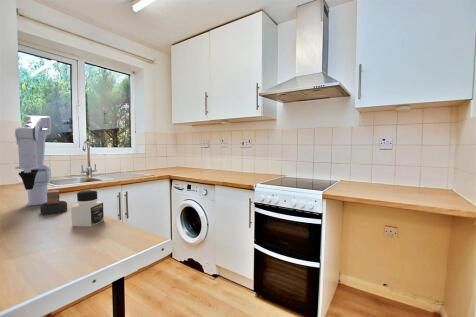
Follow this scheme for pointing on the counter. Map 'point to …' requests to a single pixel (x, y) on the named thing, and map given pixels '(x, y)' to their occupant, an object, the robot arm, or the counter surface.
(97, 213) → the medicine bottle
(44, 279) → the counter surface
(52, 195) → the walnut block
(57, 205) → the smart speaker
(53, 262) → the counter surface
